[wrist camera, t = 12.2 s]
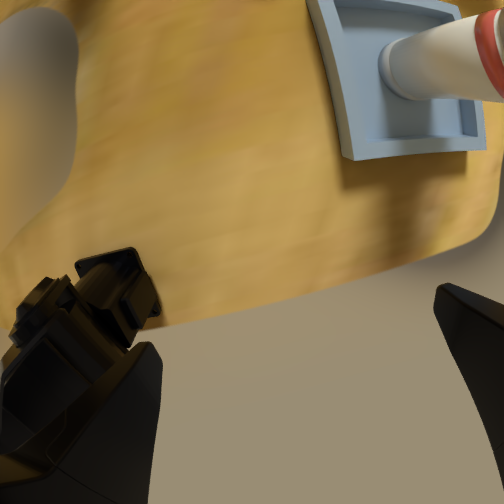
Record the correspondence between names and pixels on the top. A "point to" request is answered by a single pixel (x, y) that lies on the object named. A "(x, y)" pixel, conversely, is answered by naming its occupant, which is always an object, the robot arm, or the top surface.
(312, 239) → the top surface
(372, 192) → the top surface
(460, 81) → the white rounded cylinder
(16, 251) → the top surface
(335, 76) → the tray
